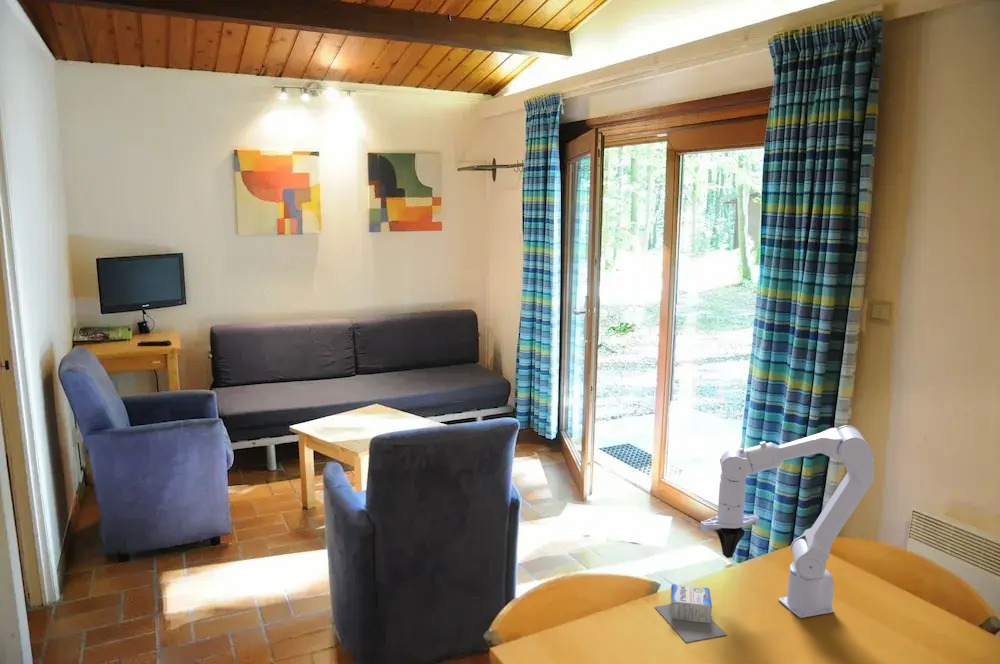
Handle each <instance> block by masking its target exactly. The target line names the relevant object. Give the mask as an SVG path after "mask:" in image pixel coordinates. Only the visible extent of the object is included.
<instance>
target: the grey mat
mask: <svg viewBox="0 0 1000 664" xmlns="http://www.w3.org/2000/svg"><path fill="white" fill-rule="evenodd" d="M654 608H655V610H656V611H657V612H658V613H659V615H661V617H663V619H664V620H665V621H666V622H667V623H668V624H669V626H670V627H672V629H673V630H674V632H676V634H677V635H679V636H680V638H681V639H682V640H683V641H684V642H685V644H686V643H693V642H698V641H704V640H710V639H714V638H715V639H716V638H719V637H725V636H728V634H727V633H726V632H725V631H724V630H723V629H722V628H721V627H720V626H719V625H718V624H717V623H716V622H715V620H713V618H711V621H710V623H703V622H695V621H686V620H678V619H672V613H671V603H670V604H669V603H668V604H665V605H664V604H663V605H658V606H654Z"/></svg>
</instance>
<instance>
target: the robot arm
mask: <svg viewBox="0 0 1000 664" xmlns="http://www.w3.org/2000/svg"><path fill="white" fill-rule="evenodd" d="M816 454H823V455H824V456H827V457H830V458H832V459H834V460H836V459H837V455H839V457H840V460H842V462H843V463H844V466H845V469H846V474H845V476H844V477H843V479H841V482H840V483H839V485H838V486H837V488H836V489H835V491H834V493H833V494H832V495H831V497H830V498H829V500H828V501H827V502H826V505H825V506H824V507H823V509H822V510H821V512H820V514H819V516H818V517H817V518H816V520H815V521H814V523H813V524H812V525H811V527H810V528H807V529H805V530H804V532H803V533H802V534H801V535H799V536H798V537H796V538H795V539H794V540H793V541H792V542H791V544H790V551H791V554H792V555H793V561H792V562H791V564H790V565H789V574H788V584H787V595H786V596H784V597H783V596H782V597H779V598H778V602H780V603H781V604H782V605H784V606H785V607H786V608H787V609H788V610H789V611H791V612H792V613H793V614H795V615H796V616H797V618H800V619H802V618H807V617H808V618H809V617H813V616H819V615H825V614H833V613H835V609H834V607H833V601H834V599H833V598H834V591H835V582H834V579H833V576H832V574H831V572H830V571H829V570H828V569H826V566H827V562H828V560H829V559H830V555H831V549H832V545H833V543H834V541H835V539H836V538H837V537H838V535H839V534H840V532H841V531H842V529H843V528H844V526H845V525H846V523H847V522H848V520H850V519H849V518H850V517H851V515H852V514H853V513H854V511H855V509H857V507H858V505H859V504H860V502H861V501H862V499H863V497H864V496H865V495H866V493H867V491H868V490H869V489H870V487H871V485H872V484H873V483H874V481H875V463H874V459H875V454H874V452H873V450H872V448H871V446H870V444H869V443H868V442H867V441H866V440H865V438H864V436H863V435H862V432H861V431H860V430H859V429H858V428H857V427H855V426H853V425H842V426H839V427H838V428H837V427H830V428H827V429H825V430H823V431H821V432H818V433H816V434H812V435H809V436H806V437H802V438H799V439H795V440H793V441H790V442H785V443H783V444H776V443H774V442H771V441H769V442H766V441H765V440H763V441H760V442H759V445H754V446H750V447H746V448H744V447H740V448H738V450H737V449H729V450H727V451H725V452H724V453H722V455H721V458H720V459H719V463H720V466H721V474H720V481H719V488H718V489H719V490H718V504H717V505H718V506H717V515H716V516H713V517H710V518H709V519H706V520H703V521H702V520H700V527H699V529H700V530H701V531H702V532H703V533H705V534H706V533H709V531H715V532H716V534H717V536H718V539H719V542H720V546H721V552H722V555H723V556H724V557H725V558H727V559H732V558H733V557H734V553H735V551H736V549H737V546H738V544H739V543H740V541H741V540H742V538H743V537H744V536H745V533H746V532H745V529H743V528H742V527H745V526H752V525H753V526H755V527H757V526H759V525H760V517H759V516H758V515H756V514H745V513H744V512H745V499H746V498H745V497H746V487H747V486H746V478H747V477H748V475H749V474H756V473H760V472H763V471H764V472H765V471H767V470H772V469H776V468H779V467H780V466H781V465H782V463H783V462H784V461H786V460H790V459H796V458H801V457H807V456H811V455H816Z"/></svg>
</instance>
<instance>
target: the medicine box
mask: <svg viewBox="0 0 1000 664" xmlns="http://www.w3.org/2000/svg"><path fill="white" fill-rule="evenodd" d="M710 590H711V589H710V588H709V587H701V586H694V585H685V584H678V583H677V584H675V583H672V584H671V587H670V604H671V613H672V619H678V620H686V621H695V622H703V623H710V621H711V619H712V611H713V609H712V608H713V603H712V598H711V591H710Z"/></svg>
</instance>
